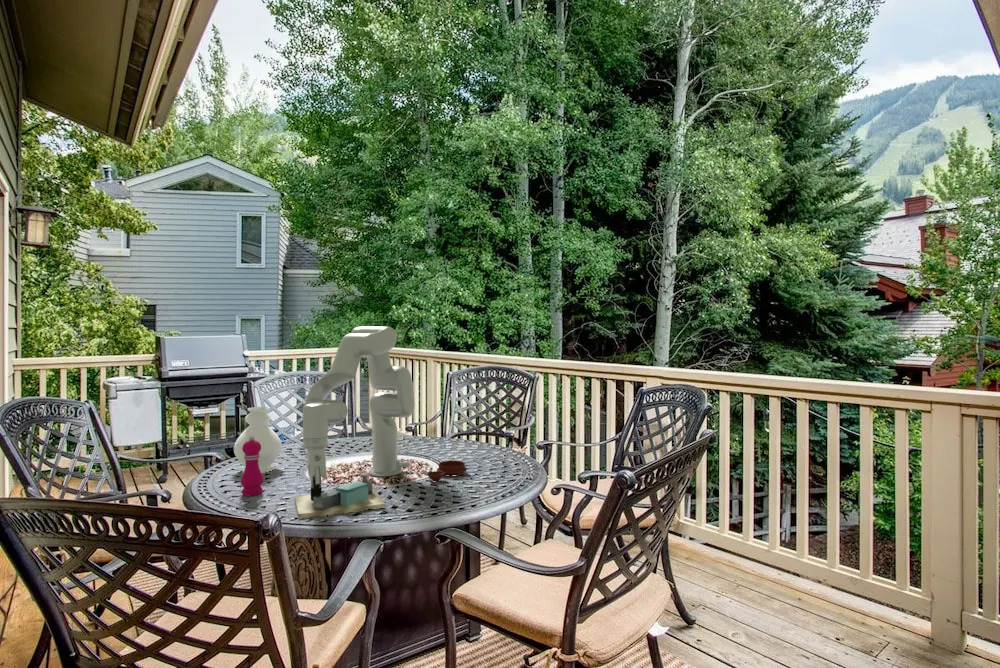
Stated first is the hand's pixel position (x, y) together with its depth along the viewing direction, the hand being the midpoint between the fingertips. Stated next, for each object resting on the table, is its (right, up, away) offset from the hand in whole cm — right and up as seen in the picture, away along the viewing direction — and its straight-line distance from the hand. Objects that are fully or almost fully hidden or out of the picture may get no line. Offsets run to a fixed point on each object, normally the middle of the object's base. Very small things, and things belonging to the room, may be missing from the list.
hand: (316, 499), depth 189 cm
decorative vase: (-38, -2, +49) cm, 62 cm away
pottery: (+38, -2, +37) cm, 53 cm away
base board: (+6, -2, +3) cm, 7 cm away
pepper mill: (-27, -3, +16) cm, 32 cm away
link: (+9, -1, +2) cm, 9 cm away
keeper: (+11, -1, +1) cm, 11 cm away
